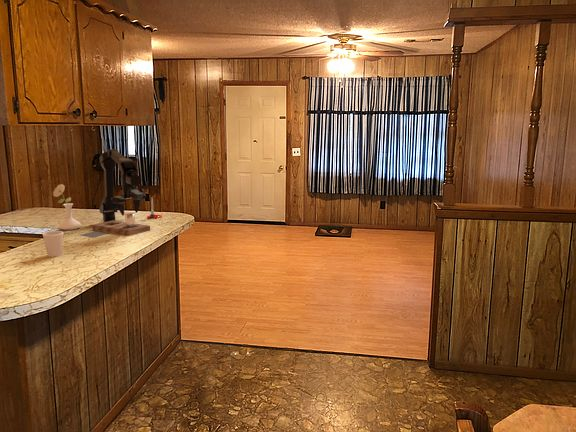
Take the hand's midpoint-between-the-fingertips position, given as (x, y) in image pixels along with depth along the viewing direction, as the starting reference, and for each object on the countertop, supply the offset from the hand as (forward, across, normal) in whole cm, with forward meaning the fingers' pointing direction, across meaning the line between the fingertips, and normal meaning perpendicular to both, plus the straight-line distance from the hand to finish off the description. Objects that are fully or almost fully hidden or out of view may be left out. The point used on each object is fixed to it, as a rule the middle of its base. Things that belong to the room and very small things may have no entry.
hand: (129, 214), depth 253 cm
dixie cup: (+10, -48, -5) cm, 49 cm away
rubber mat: (+10, -14, +11) cm, 20 cm away
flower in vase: (+10, -12, +34) cm, 38 cm away
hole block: (+10, 0, +7) cm, 12 cm away
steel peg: (+10, 0, 0) cm, 10 cm away
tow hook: (+10, +36, +18) cm, 42 cm away
